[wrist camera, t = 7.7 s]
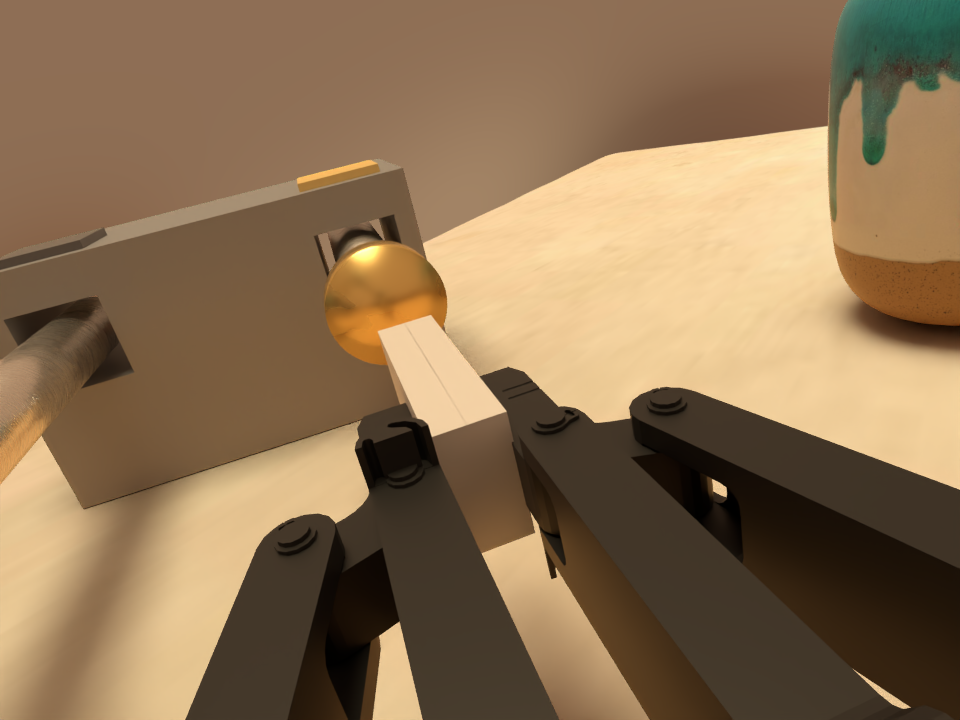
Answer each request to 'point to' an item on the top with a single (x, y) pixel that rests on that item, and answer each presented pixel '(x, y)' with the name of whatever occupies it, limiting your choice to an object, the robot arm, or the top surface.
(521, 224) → the top surface
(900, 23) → the vase
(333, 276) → the plunger ochre
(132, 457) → the console
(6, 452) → the plunger grey
